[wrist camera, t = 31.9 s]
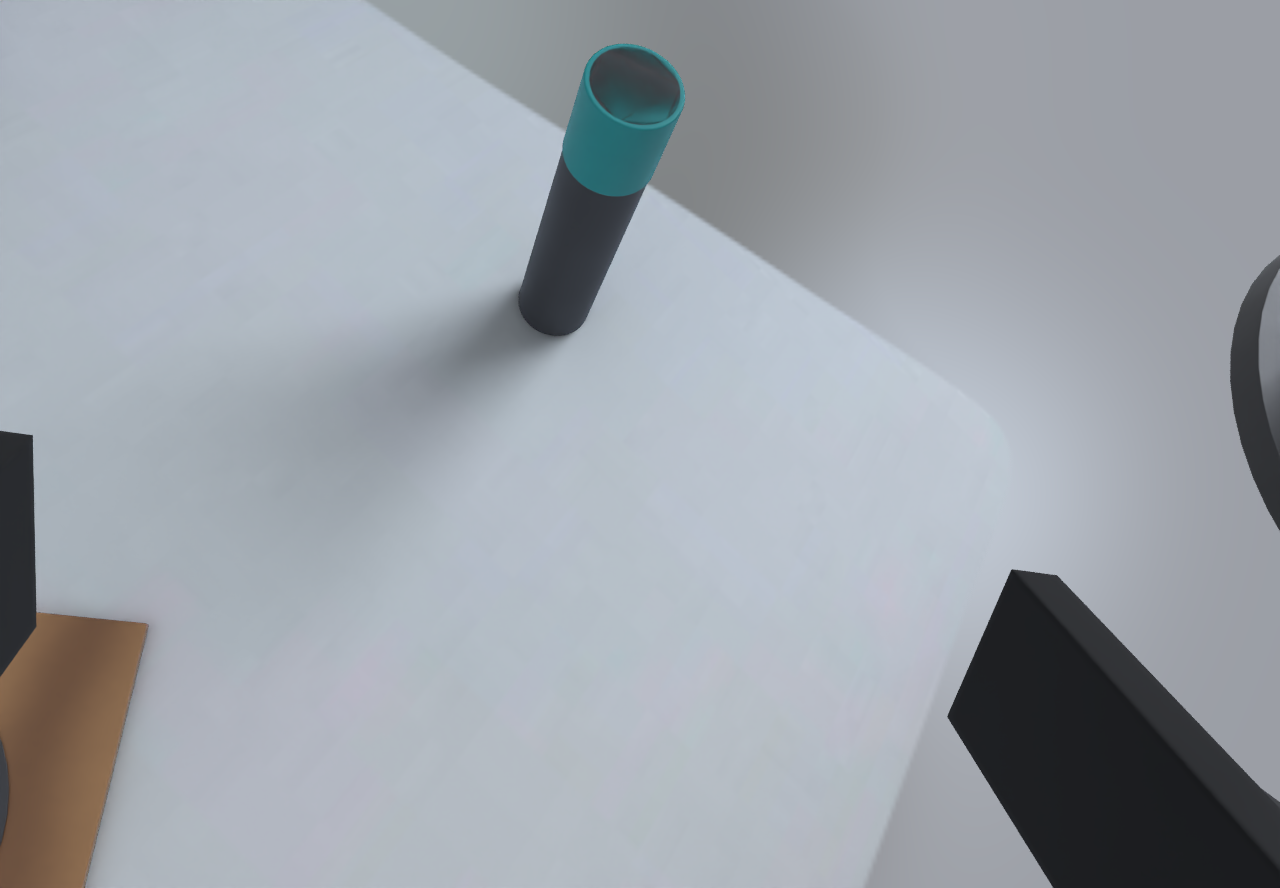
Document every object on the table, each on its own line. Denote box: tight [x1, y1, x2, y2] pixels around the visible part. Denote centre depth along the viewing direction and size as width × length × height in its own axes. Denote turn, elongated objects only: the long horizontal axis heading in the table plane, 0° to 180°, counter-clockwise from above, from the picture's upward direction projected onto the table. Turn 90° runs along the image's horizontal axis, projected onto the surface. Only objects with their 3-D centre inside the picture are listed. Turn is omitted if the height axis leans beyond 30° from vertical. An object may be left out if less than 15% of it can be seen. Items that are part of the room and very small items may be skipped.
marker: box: [519, 44, 685, 335], centre depth 30 cm, size 3×3×12 cm
